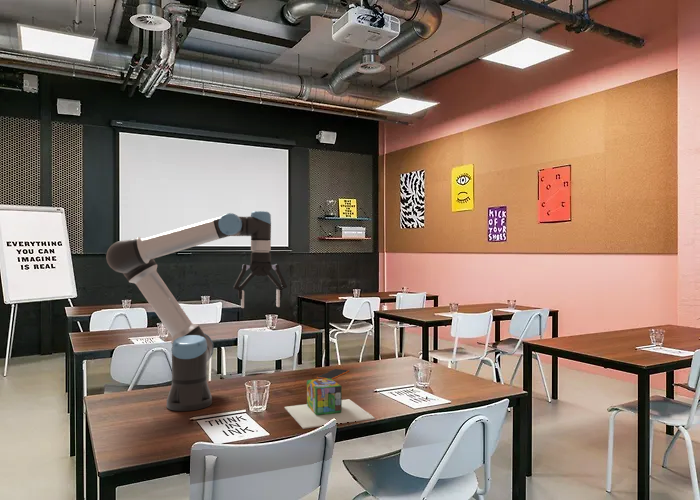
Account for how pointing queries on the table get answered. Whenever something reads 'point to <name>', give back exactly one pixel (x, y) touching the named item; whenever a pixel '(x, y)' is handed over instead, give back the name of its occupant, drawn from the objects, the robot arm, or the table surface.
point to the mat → (328, 415)
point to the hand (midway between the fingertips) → (260, 307)
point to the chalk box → (324, 396)
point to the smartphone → (333, 374)
